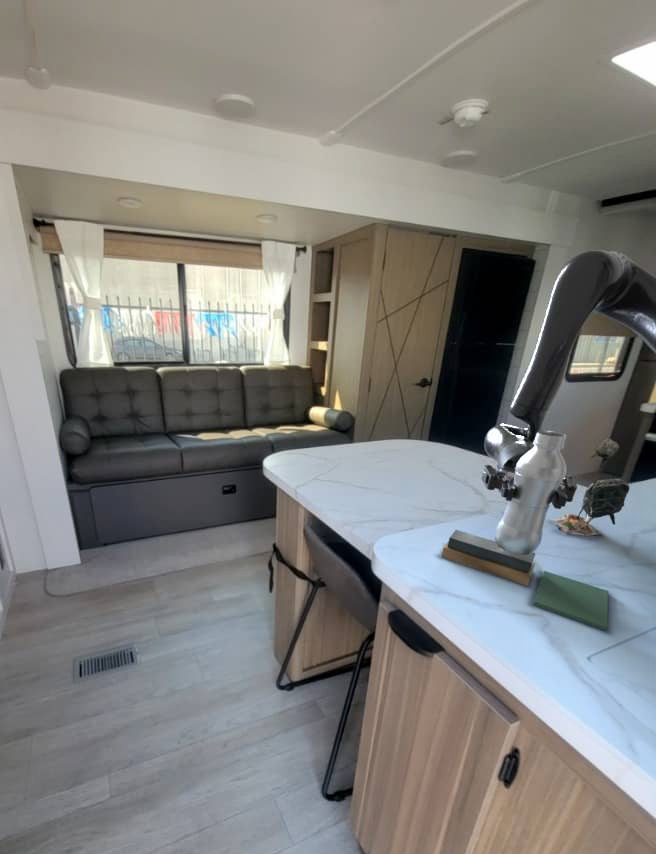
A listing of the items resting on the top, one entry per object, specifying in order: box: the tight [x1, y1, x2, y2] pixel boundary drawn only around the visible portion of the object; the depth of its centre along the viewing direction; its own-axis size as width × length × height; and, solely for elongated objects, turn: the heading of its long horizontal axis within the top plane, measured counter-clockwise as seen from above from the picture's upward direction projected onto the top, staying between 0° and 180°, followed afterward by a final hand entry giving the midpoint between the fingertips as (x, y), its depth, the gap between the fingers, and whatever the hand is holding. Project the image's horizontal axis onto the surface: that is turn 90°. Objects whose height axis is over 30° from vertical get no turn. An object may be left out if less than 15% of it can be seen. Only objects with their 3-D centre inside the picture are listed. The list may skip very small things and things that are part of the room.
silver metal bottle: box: [494, 430, 567, 555], centre depth 64 cm, size 6×7×20 cm
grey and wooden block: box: [440, 529, 536, 587], centre depth 71 cm, size 14×5×4 cm, turn 53°
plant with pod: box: [551, 438, 631, 538], centre depth 81 cm, size 8×11×20 cm
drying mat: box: [533, 570, 609, 631], centre depth 64 cm, size 9×11×1 cm
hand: (534, 499), depth 62 cm, fingers closed on silver metal bottle, 6 cm apart
